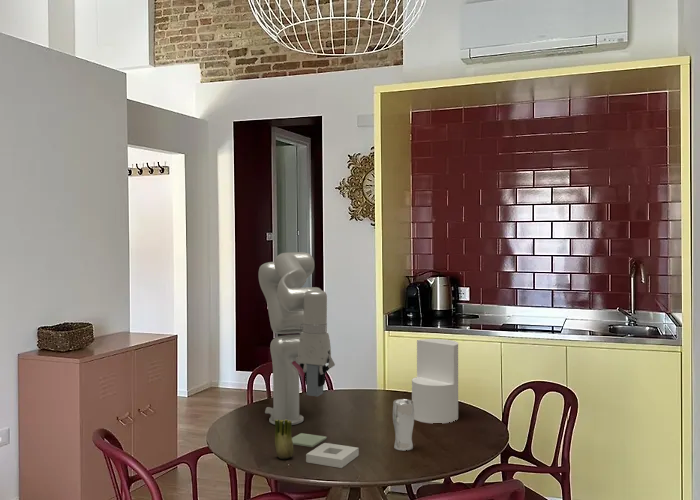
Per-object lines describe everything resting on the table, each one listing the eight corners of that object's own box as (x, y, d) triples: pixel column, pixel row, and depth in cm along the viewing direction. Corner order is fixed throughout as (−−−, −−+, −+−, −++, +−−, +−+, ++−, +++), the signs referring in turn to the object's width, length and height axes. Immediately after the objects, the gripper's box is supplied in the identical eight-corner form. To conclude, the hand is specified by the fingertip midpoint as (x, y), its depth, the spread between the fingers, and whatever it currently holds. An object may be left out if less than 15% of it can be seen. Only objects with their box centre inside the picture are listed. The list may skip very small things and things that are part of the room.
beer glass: (400, 452, 212) (400, 405, 212) (388, 446, 218) (388, 400, 218) (418, 449, 215) (418, 402, 215) (406, 443, 222) (406, 397, 221)
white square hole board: (306, 462, 204) (306, 454, 204) (324, 450, 215) (324, 442, 215) (341, 468, 199) (341, 459, 199) (358, 455, 209) (358, 447, 209)
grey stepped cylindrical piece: (431, 408, 264) (430, 337, 263) (467, 416, 252) (467, 342, 251) (402, 417, 252) (402, 342, 251) (439, 426, 240) (439, 348, 239)
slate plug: (306, 395, 217) (306, 364, 216) (312, 391, 220) (312, 361, 220) (317, 396, 215) (317, 365, 214) (323, 393, 219) (323, 363, 218)
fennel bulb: (272, 457, 209) (272, 418, 208) (286, 453, 212) (285, 416, 211) (282, 462, 204) (282, 423, 204) (296, 458, 207) (295, 420, 207)
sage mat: (285, 443, 222) (285, 441, 222) (300, 434, 231) (300, 433, 231) (312, 447, 218) (312, 445, 218) (326, 438, 227) (326, 436, 227)
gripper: (286, 328, 217) (286, 384, 218) (333, 333, 209) (332, 390, 211) (298, 324, 223) (298, 379, 224) (343, 329, 216) (343, 385, 217)
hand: (314, 384), depth 218 cm, fingers closed on slate plug, 4 cm apart
